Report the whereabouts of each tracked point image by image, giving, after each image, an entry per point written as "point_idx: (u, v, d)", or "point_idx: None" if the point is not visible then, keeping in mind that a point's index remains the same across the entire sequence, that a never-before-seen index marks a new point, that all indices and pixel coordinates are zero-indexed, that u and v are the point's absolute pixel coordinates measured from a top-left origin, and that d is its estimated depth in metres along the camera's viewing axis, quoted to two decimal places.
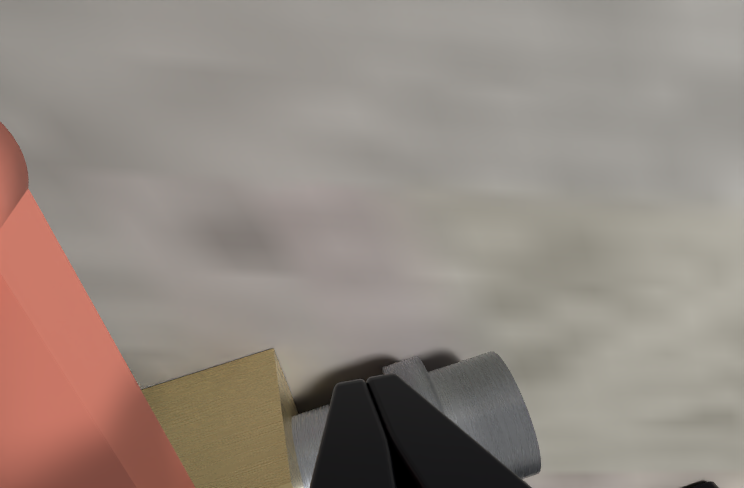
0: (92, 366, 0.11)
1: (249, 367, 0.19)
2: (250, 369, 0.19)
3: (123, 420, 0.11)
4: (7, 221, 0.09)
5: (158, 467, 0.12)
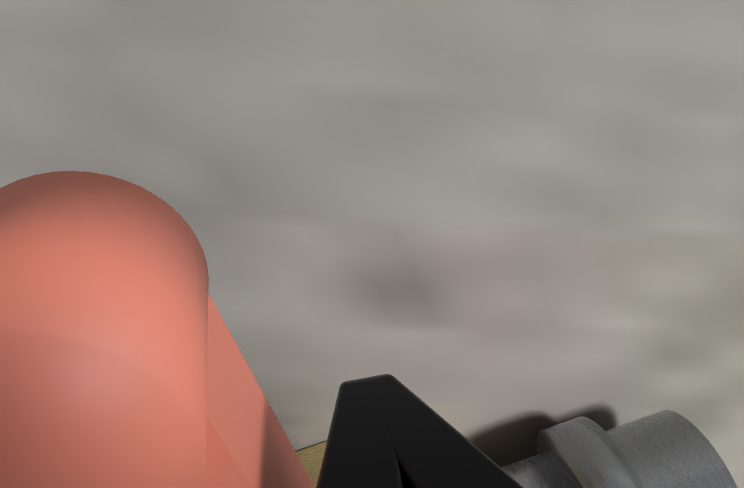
0: None
1: None
2: None
3: None
4: (207, 353, 0.07)
5: None
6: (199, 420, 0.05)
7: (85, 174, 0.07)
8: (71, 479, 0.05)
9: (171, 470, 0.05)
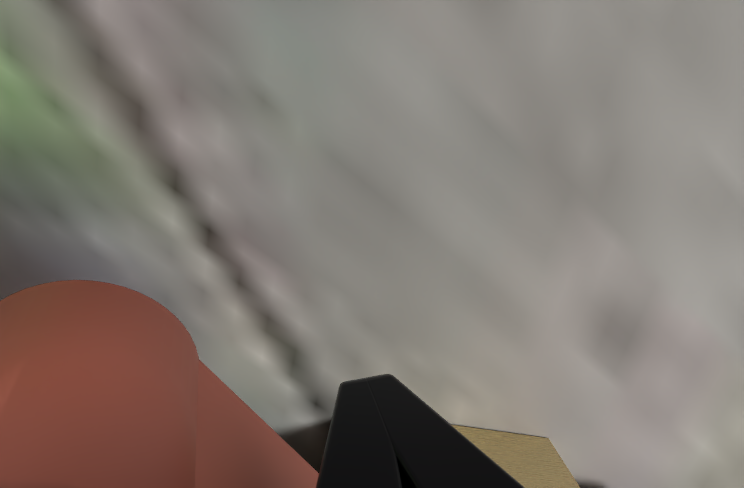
0: None
1: (535, 449, 0.19)
2: (537, 451, 0.18)
3: None
4: (198, 427, 0.07)
5: None
6: None
7: (53, 284, 0.07)
8: None
9: None
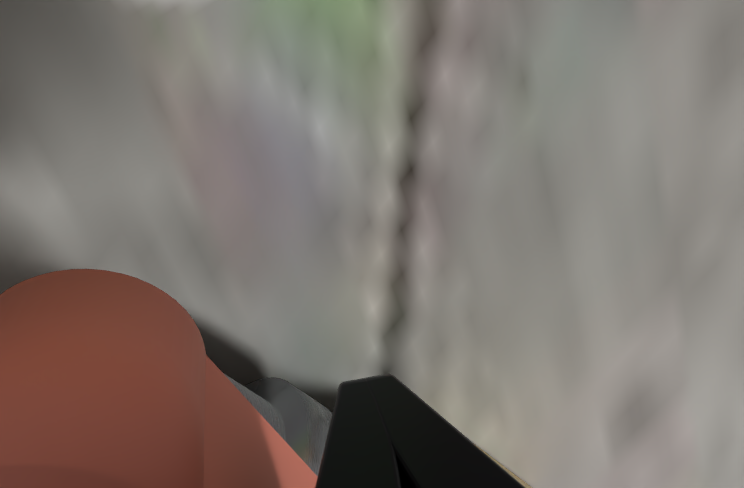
0: None
1: None
2: None
3: None
4: (206, 421, 0.07)
5: None
6: None
7: (67, 273, 0.07)
8: None
9: None
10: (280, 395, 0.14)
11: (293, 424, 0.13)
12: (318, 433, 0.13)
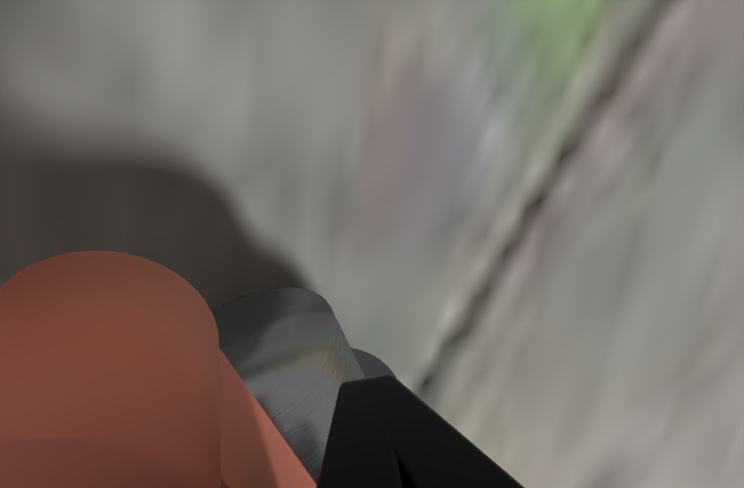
0: None
1: None
2: None
3: None
4: (221, 413, 0.07)
5: None
6: None
7: (94, 253, 0.07)
8: None
9: None
10: (363, 365, 0.14)
11: None
12: None
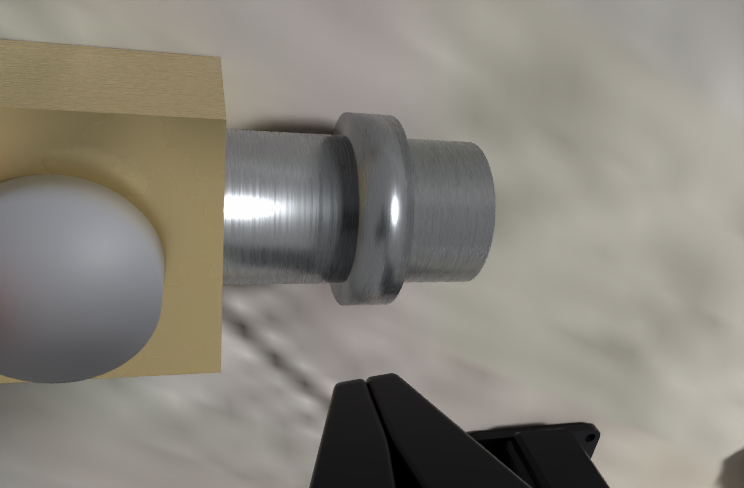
0: None
1: (187, 59, 0.16)
2: (188, 60, 0.16)
3: None
4: None
5: None
6: None
7: None
8: None
9: None
10: None
11: None
12: None
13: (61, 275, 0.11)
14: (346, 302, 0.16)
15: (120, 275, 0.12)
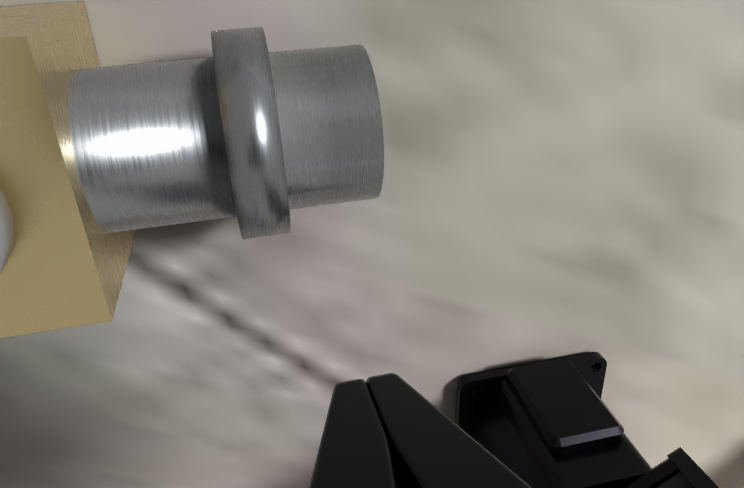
0: None
1: (43, 5, 0.15)
2: (44, 6, 0.15)
3: None
4: None
5: None
6: None
7: None
8: None
9: None
10: None
11: None
12: None
13: None
14: None
15: None
